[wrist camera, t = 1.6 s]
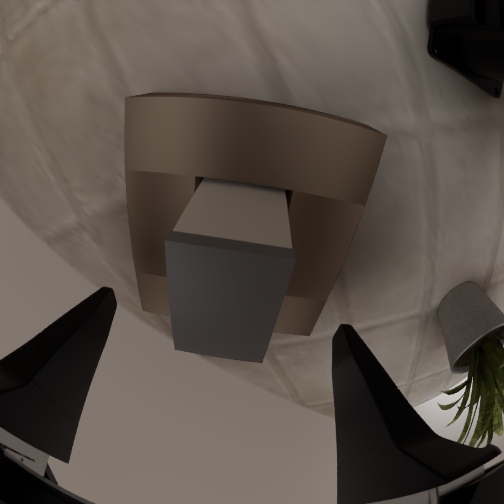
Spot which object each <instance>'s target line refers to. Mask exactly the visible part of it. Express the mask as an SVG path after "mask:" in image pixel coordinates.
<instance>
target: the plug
mask: <svg viewBox="0 0 504 504" xmlns="http://www.w3.org/2000/svg"><path fill="white" fill-rule="evenodd" d="M165 254H166V269H167V283H168V294H169V305H170V314H171V323H172V331H173V339H174V347H175V350H180V351H186V352H191V353H196V354H202V355H208V356H214V357H220V358H227V359H234V360H241V361H249V362H258V363H262V362H263V359H264V356H265V353H266V350H267V348H268V345H269V342H270V339H271V336H272V333H273V330H274V327H275V324H276V321H277V318H278V315H279V312H280V309H281V306H282V303H283V299H284V296H285V293H286V290H287V287H288V284H289V280H290V277H291V274H292V271H293V267H294V264H295V261H296V259H295V251H294V249H292V241H291V233H290V225H289V217H288V209H287V201H286V194H285V189H281V188H276V187H270V186H264V185H257V184H251V183H244V182H237V181H230V180H223V179H215V178H207V177H204V179H203V180H202V182H201V183H200V185H199V187H198V188H197V190H196V192H195V193H194V195H193V197H192V198H191V200H190V202H189V203H188V205H187V207H186V208H185V210H184V212H183V213H182V215H181V217H180V219H179V220H178V222H177V224H176V226H175V227H174V229H173V231H171V230H170V232H169V234H168V236H167V237H166V239H165Z"/></svg>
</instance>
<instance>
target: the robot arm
mask: <svg viewBox="0 0 504 504" xmlns="http://www.w3.org/2000/svg"><path fill="white" fill-rule="evenodd" d="M429 22H430V24H431V28H430V37H429V44H428V51H429V53H430V55H431V56H432V57H433V58H435V59H437V60H439V61H440V62H442V63H444V64H445V65H447V66H449V67H450V68H452V69H454V70H455V71H457V72H458V73H460V74H461V75H463V76H464V77H466V78H467V79H469V80H470V81H472V82H473V83H474V84H476V85H477V86H479V87H480V88H481V89H483V90H484V91H485V92H487V93H488V94H489V95H490V96H492V97H494V98H500V96H501V90H502V83H503V82H504V0H431V7H430V19H429ZM435 48H436V49H437V50H438V54H437V53H436V52H435ZM494 90H495V92H494ZM116 307H117V301H116V298H115V294H114V291H113V289H112V288H109V287H102V288H100V289H99V290H98V291H96V292H95V293H93V294H92V295H90V296H89V297H88V298H86V299H85V300H83V301H82V302H81V303H79V304H78V305H76V306H75V307H74V308H72V309H71V310H70V311H68V312H67V313H65V314H64V315H63V316H62V317H60V318H59V319H57V320H56V321H55V322H53V323H52V324H51V325H49V326H48V327H47V328H45V329H44V330H43V331H42V333H41V332H40V333H39V334H37V335H36V336H35V337H34V338H32V339H31V340H29V341H28V342H27V343H25V344H24V345H22V346H21V347H20V348H18V349H16V350H15V351H14V352H12V353H10V354H9V355H7V356H6V357H4V358H3V359H1V360H0V504H95V503H92V502H90V501H88V500H85V499H84V498H81V497H79V496H77V495H75V494H73V493H71V492H69V491H67V490H66V489H64V488H62V487H60V486H58V483H57V481H56V479H55V477H54V475H53V473H52V471H51V469H50V467H49V465H48V463H47V461H48V458H49V455H50V456H52V457H54V458H56V459H59V460H61V461H63V462H65V463H69V460H70V455H71V451H72V447H73V442H74V439H75V435H76V431H77V428H78V422H79V420H80V417H81V413H82V410H83V406H84V403H85V400H86V397H87V394H88V391H89V388H90V385H91V382H92V379H93V376H94V373H95V371H96V368H97V365H98V362H99V360H100V357H101V354H102V352H103V349H104V346H105V344H106V341H107V338H108V335H109V331H110V328H111V325H112V321H113V318H114V314H115V311H116ZM332 382H333V394H334V407H335V423H336V442H337V464H338V465H337V504H504V460H502V461H500V462H498V463H497V464H495V465H493V466H491V467H489V468H486V469H484V464H485V463H487V462H489V461H490V460H492V459H494V458H495V457H497V456H498V455H500V454H501V453H502V451H501V450H500V449H499V448H498V447H497V446H495V445H492V444H489V445H488V446H486V447H484V448H475V447H471V446H467V445H464V444H461V443H458V442H455V441H452V440H448V439H446V438H443V437H441V436H439V435H437V434H436V433H435V432H434V431H433V430H432V429H431V428H430V427H429V426H428V425H427V424H426V422H425V421H424V420H423V419H422V418H421V417H420V415H419V414H418V413H417V412H416V411H415V410H414V408H413V407H412V406H411V405H410V404H409V402H408V401H407V400H406V398H405V397H404V396H403V394H402V393H401V391H400V390H399V389H398V387H397V386H396V385H395V383H394V382H393V380H392V379H391V378H390V376H389V375H388V374H387V372H386V371H385V369H384V368H383V367H382V365H381V364H380V363H379V361H378V360H377V359H376V357H375V356H374V355H373V353H372V352H371V351H370V349H369V348H368V347H367V345H366V344H365V343H364V341H363V340H362V339H361V337H360V336H359V335H358V333H357V332H356V331H355V329H354V328H353V327H352V326H351V325H349V324H341V325H340V326H339V328H338V329H337V331H336V333H335V334H334V336H333V340H332Z"/></svg>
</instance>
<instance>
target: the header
mask: <svg viewBox="0 0 504 504" xmlns="http://www.w3.org/2000/svg"><path fill="white" fill-rule="evenodd" d="M386 138H387V135H385V134H383V133H381V132H379V131H377V130H376V129H374V128H372V127H370V126H368V125H365V124H362V123H359V122H356V121H352V120H349V119H345V118H342V117H338V116H334V115H330V114H326V113H322V112H318V111H314V110H310V109H305V108H300V107H295V106H290V105H285V104H280V103H274V102H268V101H261V100H254V99H247V98H239V97H230V96H219V95H207V94H189V93H147V94H142V95H136V96H131V97H126V98H125V177H126V193H127V206H128V217H129V227H130V235H131V243H132V251H133V258H134V265H135V271H136V277H137V283H138V288H139V294H140V299H141V304H142V309H143V311H147V312H151V313H156V314H161V315H166V316H171V314H170V305H169V294H168V283H167V269H166V254H165V239H166V237H167V236H168V234H169V232H170V230H171V231H173V229H174V227H175V226H176V224H177V222H178V220H179V219H180V217H181V215H182V213H183V212H184V210H185V208H186V207H187V205H188V203H189V202H190V200H191V198H192V197H193V195H194V193H195V192H196V190H197V188H198V187H199V185H200V183H201V182H202V180H203V179H204V177H207V178H215V179H223V180H230V181H237V182H244V183H251V184H257V185H264V186H270V187H276V188H281V189H285V194H286V201H287V209H288V217H289V225H290V233H291V241H292V249H294V251H295V259H296V261H295V264H294V267H293V271H292V274H291V277H290V280H289V284H288V287H287V290H286V293H285V296H284V299H283V303H282V306H281V309H280V312H279V315H278V318H277V321H276V324H275V327H274V330H273V332H274V333H283V334H293V335H304V336H310V334H311V332H312V330H313V328H314V326H315V324H316V322H317V320H318V318H319V316H320V313H321V311H322V309H323V307H324V305H325V303H326V301H327V298H328V296H329V294H330V292H331V290H332V287H333V285H334V283H335V280H336V278H337V276H338V273H339V271H340V269H341V266H342V264H343V262H344V259H345V257H346V254H347V252H348V249H349V247H350V244H351V242H352V239H353V237H354V234H355V231H356V229H357V226H358V224H359V221H360V218H361V215H362V213H363V210H364V207H365V204H366V201H367V198H368V196H369V193H370V190H371V187H372V184H373V181H374V178H375V174H376V171H377V168H378V165H379V162H380V158H381V155H382V152H383V148H384V145H385V141H386Z"/></svg>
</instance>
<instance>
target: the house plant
mask: <svg viewBox="0 0 504 504" xmlns="http://www.w3.org/2000/svg"><path fill="white" fill-rule="evenodd" d="M438 317H439V321H440V325H441V328H442V332H443V336H444V341H445V345H446V349H447V354H448V359H449V364H450V369H451V371H452V373H454V374H462V373H465V372H468V371H469V373H468V379H467V381H465V382H464V383H462V384H461V385H459V386H457V387H455V388H454V389H452V390H448V391H441V392H443V393H446V394H448V395H451V394H455V393H457V392H459V391H460V390H461V389H463V388H464V387H465V386H466V390H465V392H464V394H463V395H464V397H463V396H462V397H463V400H462V403H461V406H460V407H458V408H459V410H458V412H457V414H456V416H455V418H454V420H453V421H452V422H451V423H450V424H452V423H453V422H454V421H456V420H457V419H458V417H459V416H460V415H461V413H462V412H463V410H464V409H465V408H466V407H465V406H466V403H467V400H468V398H469V392H470V388H471V383H472V377H473V385H472V394H471V400H470V404H469V405H468V407H469V412H468V416H467V419H466V423H465V426H464V429H463V431H462V433H461V436H460V438H459V439H458V441H457V442H458V443H461V442H462V440H463V438H464V437H465V435H466V432H467V430H468V427H469V424H470V420H471V416H472V410H473V406H474V404H476V403H477V405H478V401H479V398H480V396H481V400H480V408H479V416H478V421H477V425H476V428H475V431H474V434H473V437H472V439H471V441H470V443H469V445H468V446H471V447H474V445H475V443H476V442H477V440H478V439H479V438H480V436H481V435H482V438H481V441H480V442H479V444H478V446H477V448H478V447H479V446H480V444H481V443H482V442H483V441H484V438H485V436H486V433H487V430H488V440H487V445H486V446H488V445H489V444H490V443H491V441H492V438H493V431H494V432H495V433H496V434H498V435H499V436H500V435H502V433H503V423H502V411H503V413H504V347H503V346H504V314H503V313H502V312H501V311H500V309H499V308H498V307H497V306H496V305H495V304H494V303H493V302H492V301H491V299H490V298H489V297H488V296H487V295H486V294H485V293H484V292H483V291H482V290H481V289H480V288H479V287H478V286H477V285H476V284H475V283H474V282H466V283H463V284H461V285H459V286H457V287H456V288H455V289H453V290H452V291H451V292H450V293H448V294H447V295H446V296H445V297H444V299H443V300H442V301H441V303H440V305H439V308H438ZM439 391H440V390H439ZM462 397H461V398H462ZM461 398H460V399H461ZM460 399H459V400H460ZM459 400H457V401H456V402H454V403H452V404H449V405H440V404H438V405H439V406H440V407H441V409H442V410H447V409H450V408H452V407H453V406H454V405H455V404H456V403H458V401H459ZM477 405H476V409H477ZM476 409H475V412H474V416H475V413H476ZM501 410H502V411H501ZM474 416H473V419H474ZM473 419H472V422H473ZM472 422H471V425H472ZM450 424H449V425H450ZM447 426H448V425H447ZM470 428H471V426H470ZM470 428H469V431H470ZM469 431H468V434H469ZM468 434H467V436H468ZM467 436H466V438H467ZM466 438H465V440H466ZM464 442H465V441H464ZM463 444H464V443H463Z"/></svg>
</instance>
